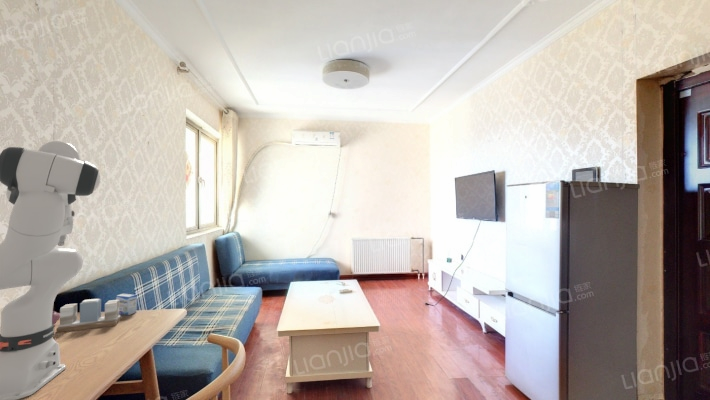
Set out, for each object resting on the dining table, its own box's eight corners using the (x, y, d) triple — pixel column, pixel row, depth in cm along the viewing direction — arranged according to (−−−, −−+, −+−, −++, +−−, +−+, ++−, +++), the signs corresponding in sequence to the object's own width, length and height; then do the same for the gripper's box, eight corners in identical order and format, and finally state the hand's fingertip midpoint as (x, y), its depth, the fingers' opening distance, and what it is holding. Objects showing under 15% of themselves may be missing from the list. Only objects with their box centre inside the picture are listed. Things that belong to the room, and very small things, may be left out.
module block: (97, 320, 135) (97, 300, 135) (79, 322, 132) (80, 302, 132) (100, 317, 139) (101, 297, 139) (83, 319, 136) (84, 299, 136)
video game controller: (57, 329, 135) (64, 311, 138) (47, 328, 131) (55, 310, 134) (36, 327, 136) (44, 310, 139) (25, 326, 132) (34, 309, 135)
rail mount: (116, 325, 136) (116, 303, 136) (56, 332, 128) (56, 309, 128) (121, 318, 143) (121, 298, 143) (65, 324, 135) (65, 303, 135)
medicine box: (114, 313, 149) (115, 295, 149) (123, 310, 154) (124, 292, 154) (128, 315, 148) (128, 297, 148) (136, 312, 152) (137, 294, 152)
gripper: (54, 214, 118) (53, 251, 118) (76, 212, 137) (76, 243, 137) (31, 214, 115) (31, 251, 115) (57, 212, 134) (57, 244, 134)
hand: (55, 247), depth 126 cm, fingers open, 8 cm apart
